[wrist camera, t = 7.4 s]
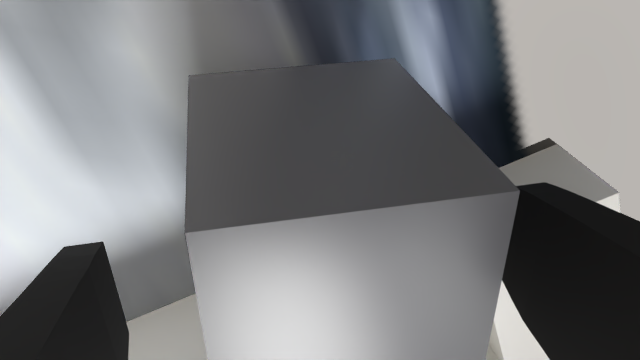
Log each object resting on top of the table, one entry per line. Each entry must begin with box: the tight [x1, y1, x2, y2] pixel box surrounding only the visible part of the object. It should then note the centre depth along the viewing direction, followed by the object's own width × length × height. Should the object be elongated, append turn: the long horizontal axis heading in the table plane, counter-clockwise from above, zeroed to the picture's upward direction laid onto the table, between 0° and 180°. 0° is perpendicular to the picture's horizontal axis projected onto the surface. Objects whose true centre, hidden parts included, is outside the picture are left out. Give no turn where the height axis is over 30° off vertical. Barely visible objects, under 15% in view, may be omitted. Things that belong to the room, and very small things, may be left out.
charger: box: [185, 58, 520, 360], centre depth 11 cm, size 5×4×7 cm
